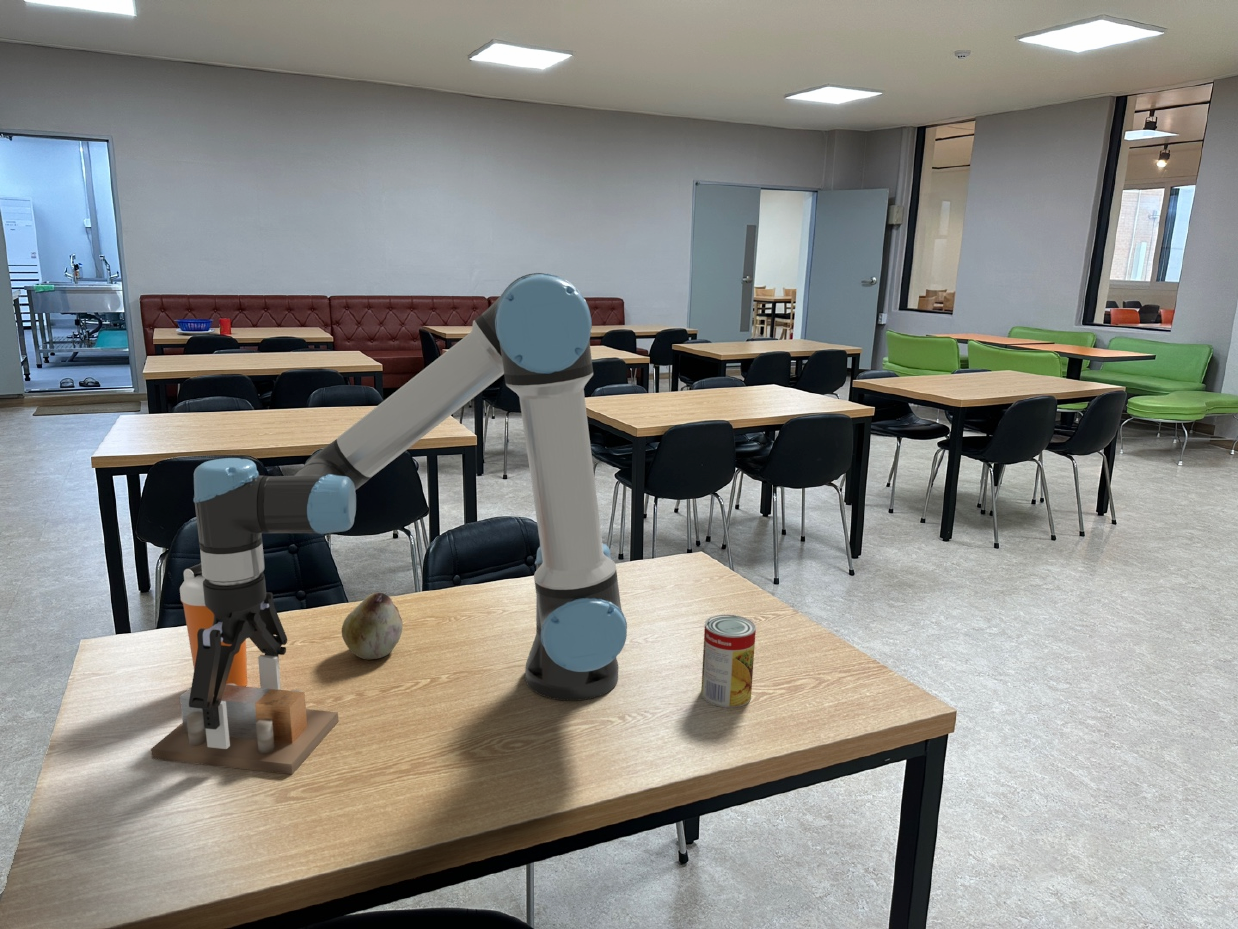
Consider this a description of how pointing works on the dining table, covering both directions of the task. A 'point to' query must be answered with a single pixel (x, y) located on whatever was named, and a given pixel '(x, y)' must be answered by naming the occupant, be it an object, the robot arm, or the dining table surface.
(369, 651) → the fruit
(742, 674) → the canned food
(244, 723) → the bar
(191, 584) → the shaker bottle
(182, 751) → the peg rack
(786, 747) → the dining table surface
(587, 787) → the dining table surface
